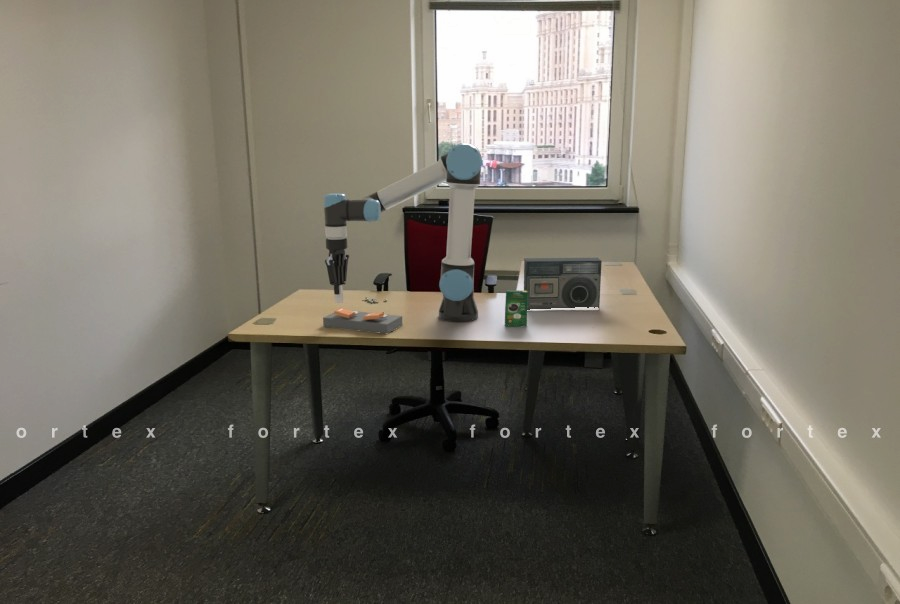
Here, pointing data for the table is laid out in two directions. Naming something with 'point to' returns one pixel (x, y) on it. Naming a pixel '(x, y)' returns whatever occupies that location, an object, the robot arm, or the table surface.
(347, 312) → the rocker
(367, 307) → the table surface
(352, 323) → the grey rectangular block
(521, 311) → the coffee box
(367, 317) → the rocker
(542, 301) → the cassette player
